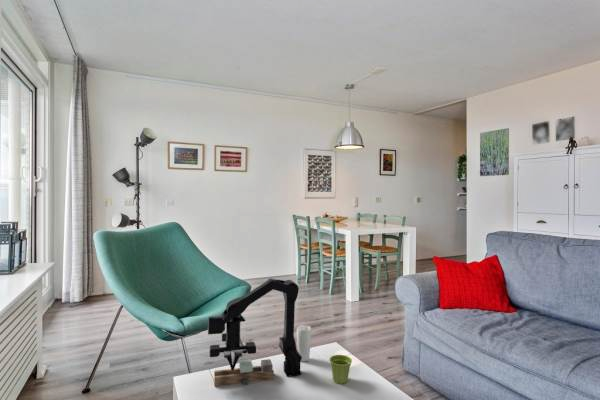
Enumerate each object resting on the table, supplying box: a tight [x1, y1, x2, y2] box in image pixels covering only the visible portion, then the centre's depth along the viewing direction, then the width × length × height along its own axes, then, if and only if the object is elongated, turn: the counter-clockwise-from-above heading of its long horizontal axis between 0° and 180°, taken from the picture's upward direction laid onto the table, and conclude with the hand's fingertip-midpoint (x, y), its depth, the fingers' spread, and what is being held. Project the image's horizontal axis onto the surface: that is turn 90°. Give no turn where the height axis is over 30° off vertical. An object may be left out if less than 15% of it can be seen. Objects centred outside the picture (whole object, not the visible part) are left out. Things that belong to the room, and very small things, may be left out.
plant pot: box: [329, 354, 353, 385], centre depth 148 cm, size 9×9×9 cm
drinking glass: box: [296, 324, 312, 363], centre depth 167 cm, size 7×7×15 cm
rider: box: [238, 359, 254, 373], centre depth 148 cm, size 5×6×4 cm
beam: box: [213, 358, 275, 387], centre depth 148 cm, size 24×9×6 cm, turn 104°
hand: (232, 369), depth 147 cm, fingers closed
